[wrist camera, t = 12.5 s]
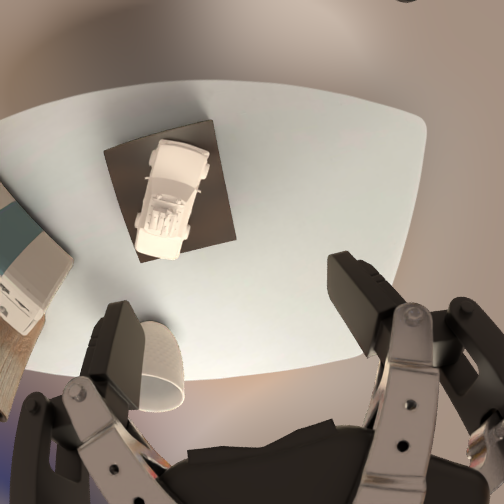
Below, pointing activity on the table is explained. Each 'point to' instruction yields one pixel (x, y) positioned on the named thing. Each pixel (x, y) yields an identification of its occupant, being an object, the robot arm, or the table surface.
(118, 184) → the stand
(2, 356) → the planter
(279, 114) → the table surface
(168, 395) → the mug
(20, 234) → the radio
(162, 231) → the toy car
